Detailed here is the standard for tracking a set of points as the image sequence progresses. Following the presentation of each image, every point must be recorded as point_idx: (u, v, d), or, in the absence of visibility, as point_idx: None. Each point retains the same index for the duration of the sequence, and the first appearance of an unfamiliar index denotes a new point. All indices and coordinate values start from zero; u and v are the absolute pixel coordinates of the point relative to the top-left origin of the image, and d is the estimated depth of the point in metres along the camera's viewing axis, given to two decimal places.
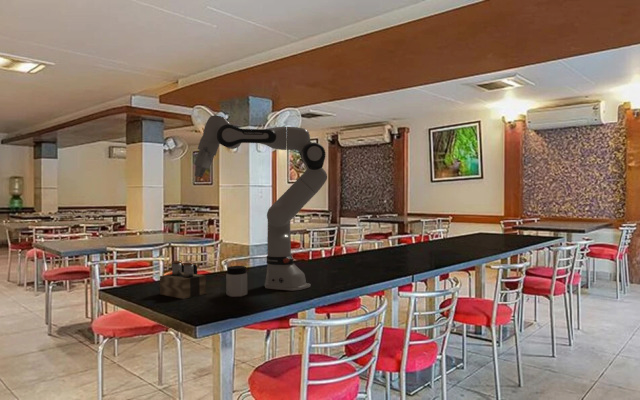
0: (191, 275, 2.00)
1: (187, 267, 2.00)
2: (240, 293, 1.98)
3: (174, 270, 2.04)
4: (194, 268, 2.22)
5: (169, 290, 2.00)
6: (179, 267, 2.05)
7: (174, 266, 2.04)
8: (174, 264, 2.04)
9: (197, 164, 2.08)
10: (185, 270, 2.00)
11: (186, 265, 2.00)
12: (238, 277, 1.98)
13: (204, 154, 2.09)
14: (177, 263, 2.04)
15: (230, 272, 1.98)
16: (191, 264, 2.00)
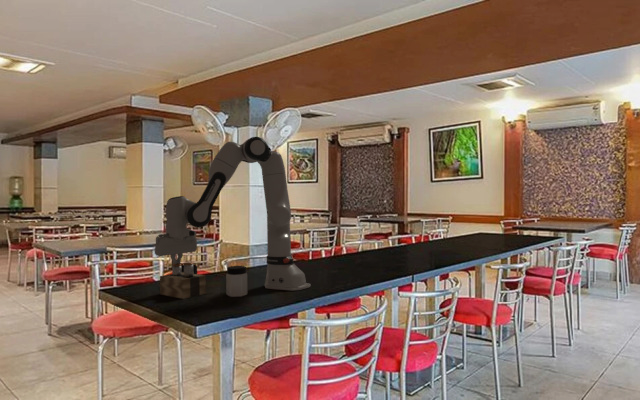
0: (191, 275, 2.00)
1: (187, 267, 2.00)
2: (240, 293, 1.98)
3: (174, 272, 2.04)
4: (194, 268, 2.22)
5: (169, 290, 2.00)
6: (179, 270, 2.05)
7: (174, 269, 2.04)
8: (174, 267, 2.04)
9: (156, 254, 1.98)
10: (185, 270, 2.00)
11: (186, 265, 2.00)
12: (238, 277, 1.98)
13: (159, 242, 1.98)
14: (177, 266, 2.04)
15: (230, 272, 1.98)
16: (191, 264, 2.00)
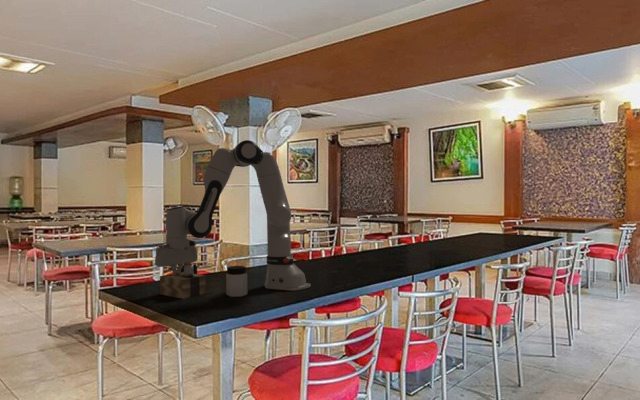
0: (191, 275, 2.00)
1: (187, 267, 2.00)
2: (240, 293, 1.98)
3: None
4: (194, 268, 2.22)
5: (169, 290, 2.00)
6: None
7: None
8: None
9: (157, 265, 1.98)
10: (185, 270, 2.00)
11: (186, 265, 2.00)
12: (238, 277, 1.98)
13: (159, 253, 1.98)
14: None
15: (230, 272, 1.98)
16: (191, 264, 2.00)
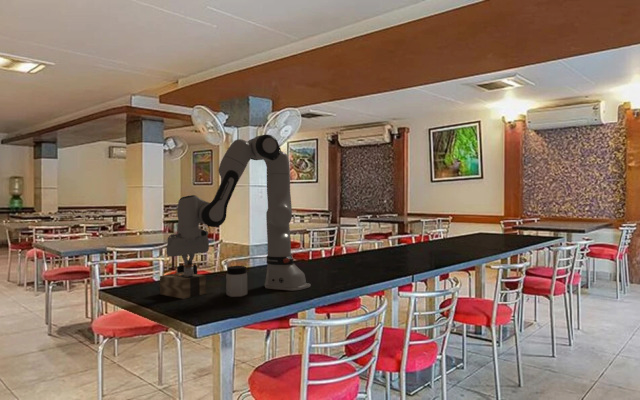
0: None
1: (187, 269, 2.00)
2: (240, 293, 1.98)
3: None
4: (194, 268, 2.22)
5: (169, 290, 2.00)
6: None
7: None
8: None
9: (168, 255, 1.94)
10: (185, 272, 2.00)
11: (186, 267, 2.00)
12: (238, 277, 1.98)
13: (171, 242, 1.93)
14: None
15: (230, 272, 1.98)
16: (191, 266, 2.00)
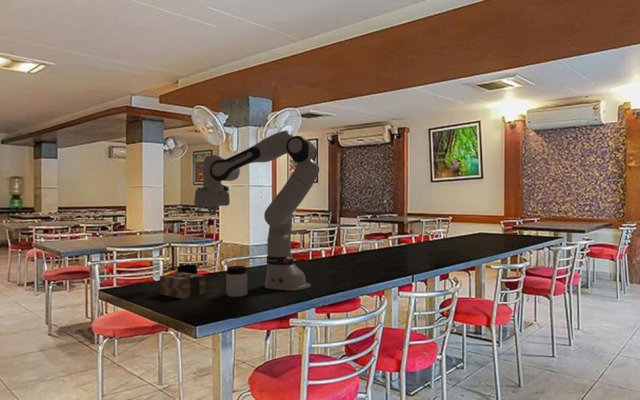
0: None
1: None
2: (240, 293, 1.98)
3: None
4: (194, 268, 2.22)
5: (169, 290, 2.00)
6: None
7: None
8: None
9: (196, 205, 2.25)
10: None
11: None
12: (238, 277, 1.98)
13: (199, 194, 2.25)
14: None
15: (230, 272, 1.98)
16: None
